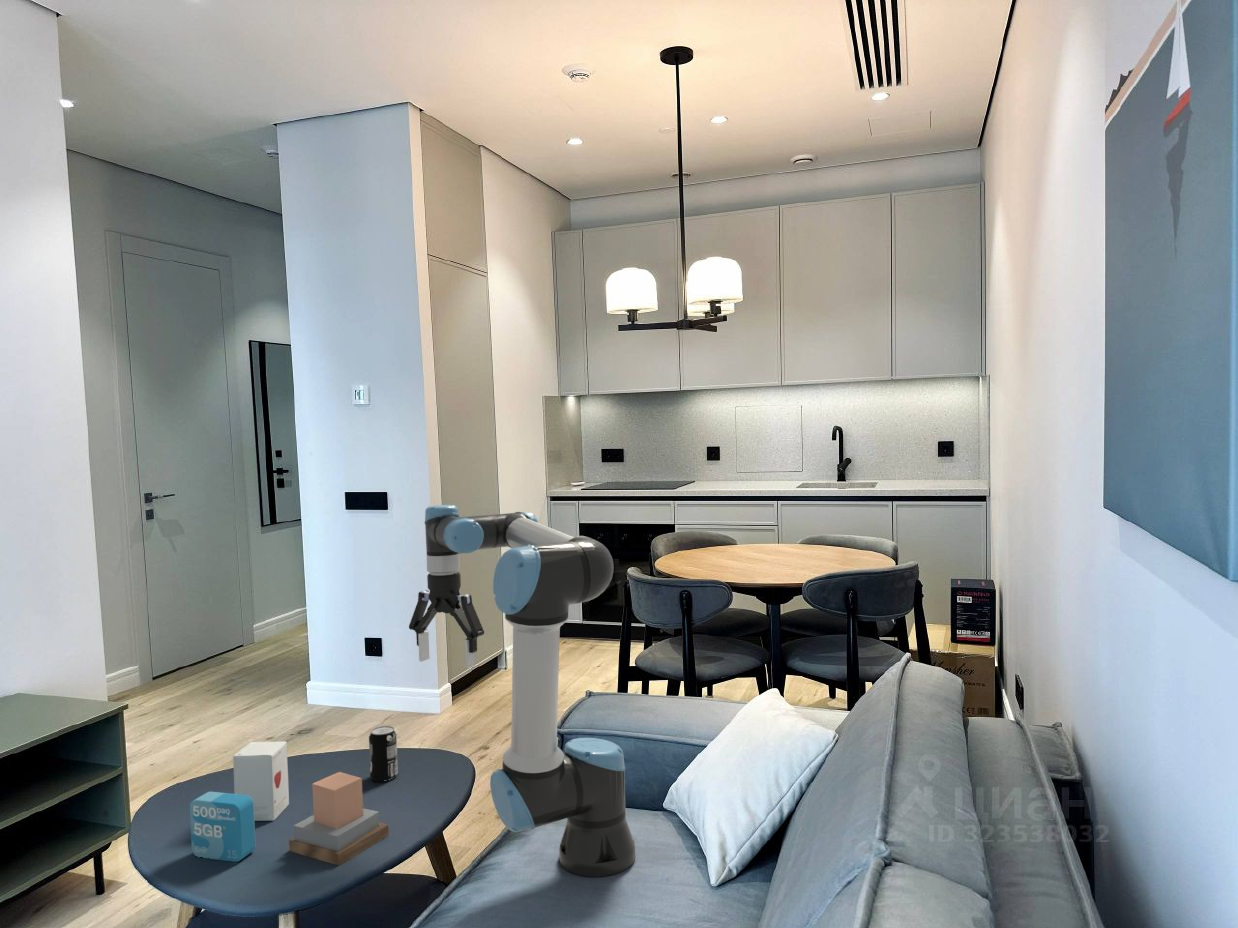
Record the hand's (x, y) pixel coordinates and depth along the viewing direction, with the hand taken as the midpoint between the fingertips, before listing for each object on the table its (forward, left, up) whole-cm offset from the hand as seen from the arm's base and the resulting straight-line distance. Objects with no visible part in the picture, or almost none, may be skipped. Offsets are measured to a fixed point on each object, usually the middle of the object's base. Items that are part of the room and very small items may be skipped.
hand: (447, 663), depth 203 cm
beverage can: (+23, -2, -32) cm, 39 cm away
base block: (+7, +28, -32) cm, 43 cm away
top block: (+7, +28, -29) cm, 41 cm away
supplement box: (+34, +25, -32) cm, 53 cm away
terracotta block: (+7, +28, -26) cm, 39 cm away
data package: (+25, +42, -32) cm, 58 cm away
